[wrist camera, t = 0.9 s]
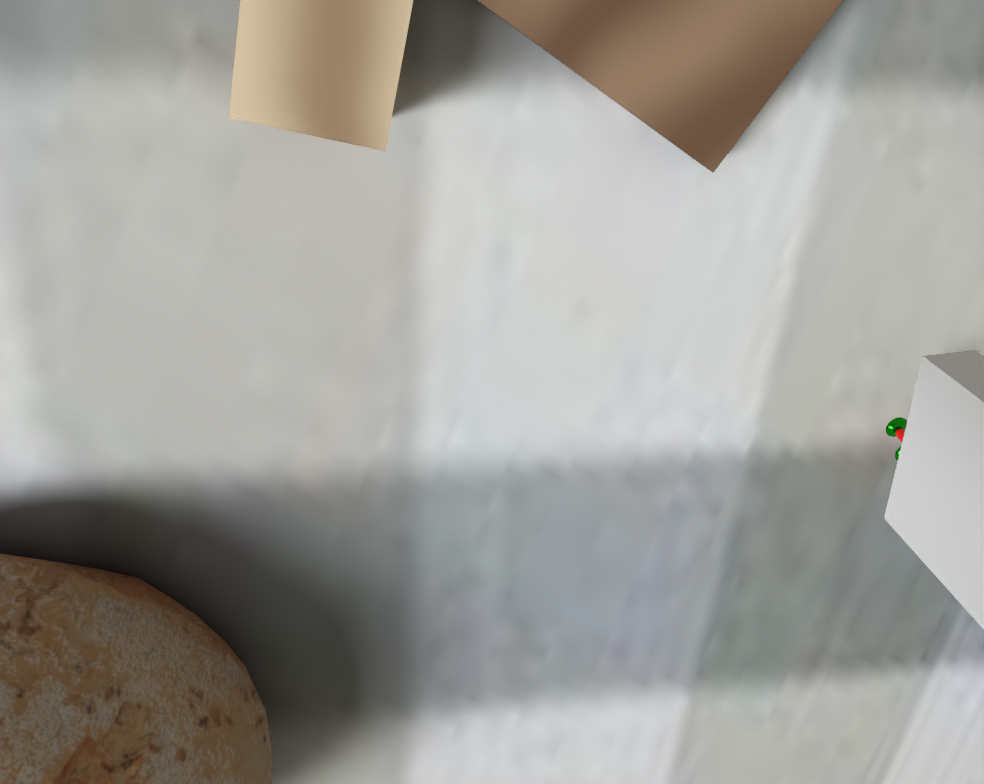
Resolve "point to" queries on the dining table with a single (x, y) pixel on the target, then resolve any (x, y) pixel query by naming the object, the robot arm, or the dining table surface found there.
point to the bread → (118, 685)
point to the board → (677, 57)
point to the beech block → (320, 66)
